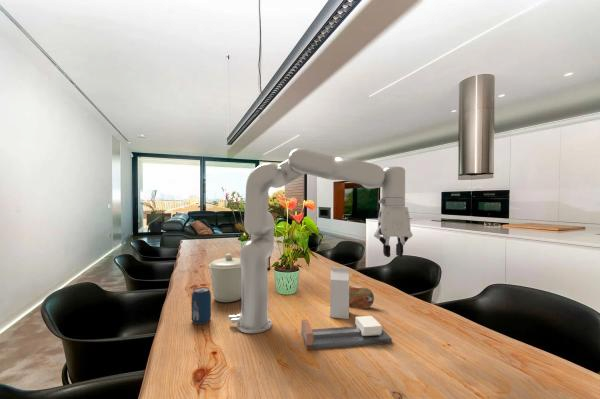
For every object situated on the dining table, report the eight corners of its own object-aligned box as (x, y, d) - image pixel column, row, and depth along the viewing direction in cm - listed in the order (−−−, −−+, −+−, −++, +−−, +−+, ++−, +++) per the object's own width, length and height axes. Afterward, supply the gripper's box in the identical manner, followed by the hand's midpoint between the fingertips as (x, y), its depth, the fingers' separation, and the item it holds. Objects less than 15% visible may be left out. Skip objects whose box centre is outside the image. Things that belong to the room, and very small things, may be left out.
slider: (364, 338, 90) (364, 327, 90) (355, 326, 98) (355, 316, 98) (381, 336, 91) (381, 325, 91) (371, 325, 98) (371, 315, 98)
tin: (338, 304, 123) (338, 285, 123) (340, 302, 126) (340, 283, 126) (373, 310, 117) (373, 290, 117) (374, 307, 120) (374, 287, 120)
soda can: (211, 316, 110) (211, 286, 110) (210, 324, 103) (210, 291, 103) (192, 318, 108) (193, 287, 108) (190, 326, 101) (190, 293, 101)
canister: (244, 290, 141) (245, 249, 141) (251, 303, 124) (251, 255, 124) (207, 294, 135) (207, 251, 135) (209, 308, 118) (209, 258, 118)
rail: (306, 350, 86) (306, 333, 86) (301, 334, 96) (301, 319, 96) (391, 343, 90) (391, 327, 90) (378, 328, 100) (378, 315, 100)
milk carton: (348, 319, 108) (348, 270, 108) (330, 317, 109) (330, 269, 109) (348, 312, 115) (349, 266, 115) (331, 310, 116) (332, 265, 116)
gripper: (375, 203, 90) (374, 259, 90) (422, 203, 93) (421, 257, 93) (366, 202, 98) (365, 254, 98) (409, 202, 101) (409, 253, 101)
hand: (393, 255), depth 95 cm, fingers open, 3 cm apart
